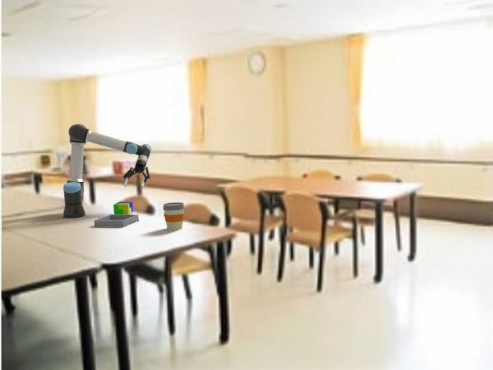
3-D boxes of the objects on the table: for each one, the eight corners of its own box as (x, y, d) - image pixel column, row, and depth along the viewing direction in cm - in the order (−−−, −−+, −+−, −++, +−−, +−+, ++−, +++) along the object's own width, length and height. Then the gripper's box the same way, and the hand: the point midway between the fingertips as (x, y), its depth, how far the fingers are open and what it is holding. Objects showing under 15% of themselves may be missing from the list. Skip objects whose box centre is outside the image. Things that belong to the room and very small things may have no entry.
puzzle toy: (133, 216, 367) (132, 201, 366) (128, 218, 357) (127, 204, 356) (119, 216, 368) (118, 202, 367) (114, 219, 358) (113, 204, 357)
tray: (94, 226, 335) (94, 220, 334) (111, 220, 354) (110, 214, 354) (123, 227, 329) (123, 220, 329) (138, 220, 349) (138, 214, 348)
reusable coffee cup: (181, 231, 312) (180, 205, 310) (161, 230, 314) (159, 205, 312) (188, 226, 324) (186, 202, 322) (168, 226, 326) (167, 202, 324)
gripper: (159, 165, 386) (151, 189, 374) (128, 166, 393) (119, 189, 381) (155, 159, 381) (147, 182, 368) (124, 159, 387) (115, 182, 375)
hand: (133, 186), depth 374 cm, fingers open, 13 cm apart
